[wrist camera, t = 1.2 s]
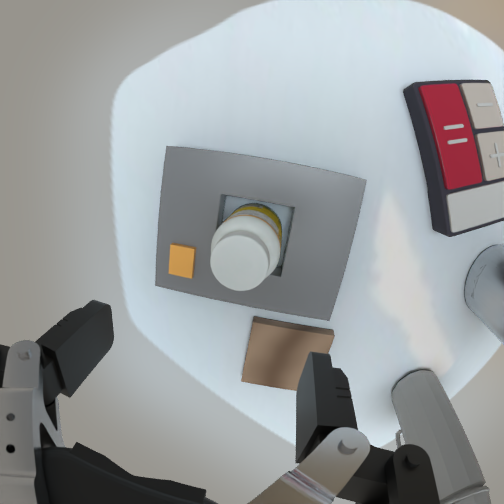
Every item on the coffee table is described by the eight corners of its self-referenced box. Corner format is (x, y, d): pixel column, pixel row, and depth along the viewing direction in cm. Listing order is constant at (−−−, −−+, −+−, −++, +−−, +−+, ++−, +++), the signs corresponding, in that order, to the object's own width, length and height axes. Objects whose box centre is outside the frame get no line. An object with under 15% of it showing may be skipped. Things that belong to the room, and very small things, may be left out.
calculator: (493, 78, 17) (522, 217, 20) (473, 86, 21) (501, 211, 24) (414, 80, 19) (451, 240, 22) (398, 91, 23) (432, 231, 26)
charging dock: (359, 178, 26) (368, 180, 23) (326, 308, 30) (330, 324, 27) (176, 146, 27) (163, 145, 24) (164, 276, 31) (152, 288, 28)
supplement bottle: (252, 191, 27) (234, 206, 18) (293, 228, 28) (296, 261, 19) (216, 231, 29) (185, 265, 20) (257, 266, 30) (243, 313, 21)
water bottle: (412, 359, 31) (478, 527, 8) (446, 374, 31) (510, 513, 8) (369, 405, 34) (397, 564, 11) (405, 415, 34) (441, 552, 11)
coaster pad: (333, 330, 31) (334, 335, 30) (311, 386, 34) (312, 392, 33) (254, 316, 31) (252, 322, 30) (242, 375, 34) (241, 381, 33)
